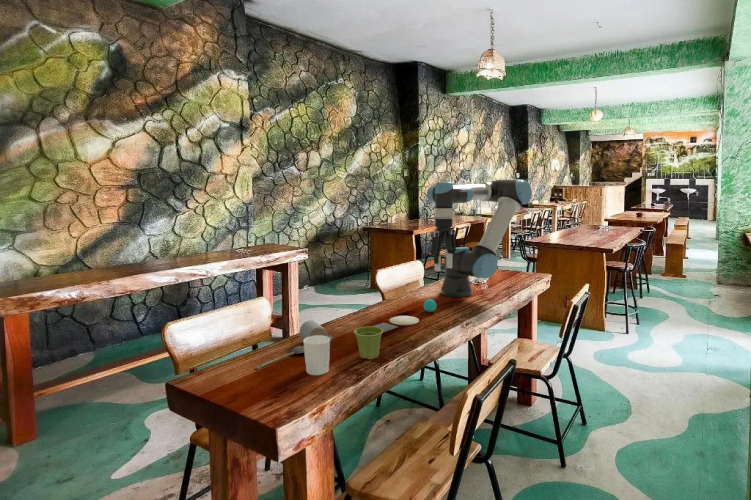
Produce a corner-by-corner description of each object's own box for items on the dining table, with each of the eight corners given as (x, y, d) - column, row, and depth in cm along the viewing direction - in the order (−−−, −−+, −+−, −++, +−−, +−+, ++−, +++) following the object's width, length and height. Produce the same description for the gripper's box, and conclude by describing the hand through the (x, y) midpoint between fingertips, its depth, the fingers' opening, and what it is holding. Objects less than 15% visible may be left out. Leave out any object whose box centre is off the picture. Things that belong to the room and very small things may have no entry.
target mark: (402, 314, 202) (402, 314, 202) (425, 320, 194) (425, 319, 194) (383, 320, 193) (383, 320, 193) (405, 327, 185) (405, 326, 185)
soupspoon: (318, 354, 161) (305, 351, 165) (317, 345, 161) (305, 341, 165) (263, 372, 145) (251, 368, 149) (263, 362, 144) (250, 357, 149)
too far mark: (383, 323, 191) (383, 322, 191) (398, 327, 185) (398, 326, 185) (369, 327, 185) (369, 327, 185) (384, 332, 179) (384, 331, 179)
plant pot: (362, 363, 149) (362, 337, 148) (350, 354, 158) (349, 329, 156) (388, 358, 154) (388, 332, 152) (375, 349, 162) (374, 324, 161)
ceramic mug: (310, 349, 163) (309, 327, 162) (299, 342, 169) (298, 322, 168) (336, 343, 169) (336, 322, 168) (325, 337, 175) (324, 317, 174)
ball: (429, 309, 209) (429, 297, 208) (439, 311, 205) (439, 299, 205) (421, 311, 205) (421, 299, 205) (431, 314, 202) (431, 301, 201)
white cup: (305, 366, 148) (304, 335, 146) (330, 365, 149) (329, 334, 147) (303, 377, 140) (302, 344, 139) (330, 375, 141) (329, 343, 139)
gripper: (450, 215, 216) (450, 265, 219) (421, 219, 201) (421, 271, 205) (464, 216, 211) (464, 267, 214) (436, 220, 196) (435, 274, 200)
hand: (443, 269), depth 210 cm, fingers open, 8 cm apart
